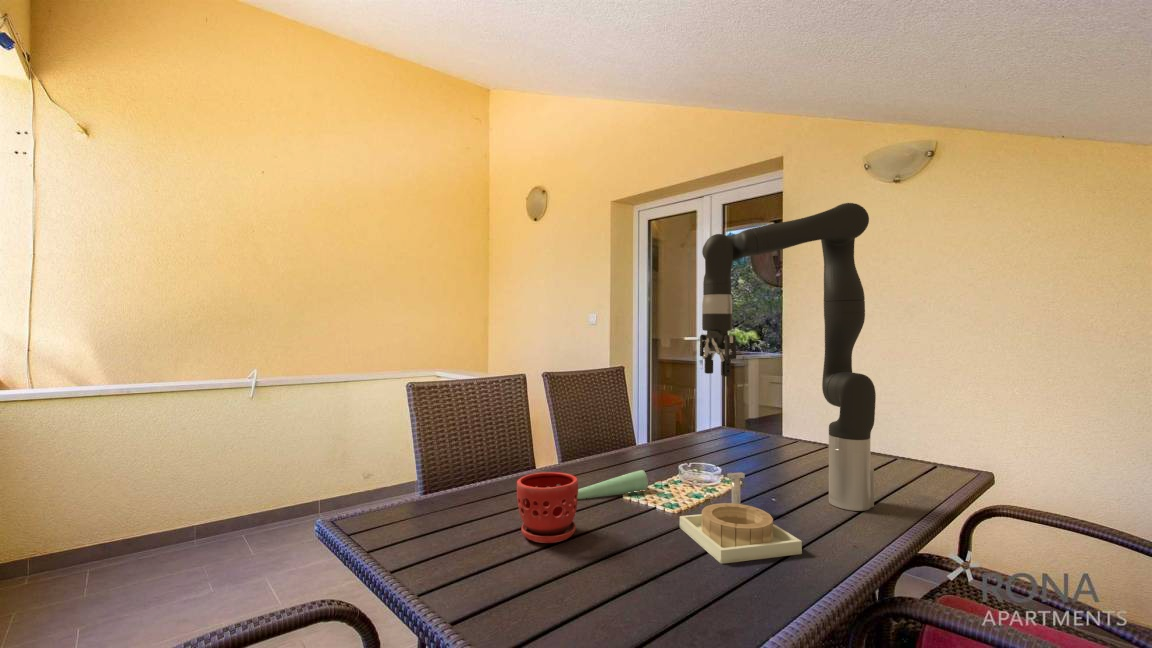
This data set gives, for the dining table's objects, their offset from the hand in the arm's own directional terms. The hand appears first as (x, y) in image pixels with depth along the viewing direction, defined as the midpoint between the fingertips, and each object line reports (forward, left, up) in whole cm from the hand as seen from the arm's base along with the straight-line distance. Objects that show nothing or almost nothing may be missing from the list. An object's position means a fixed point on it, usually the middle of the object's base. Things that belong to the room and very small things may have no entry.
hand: (717, 374), depth 131 cm
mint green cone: (+29, -10, -33) cm, 45 cm away
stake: (0, +9, -32) cm, 33 cm away
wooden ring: (+9, +24, -32) cm, 40 cm away
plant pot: (+47, +12, -32) cm, 58 cm away
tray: (+9, +24, -32) cm, 41 cm away
